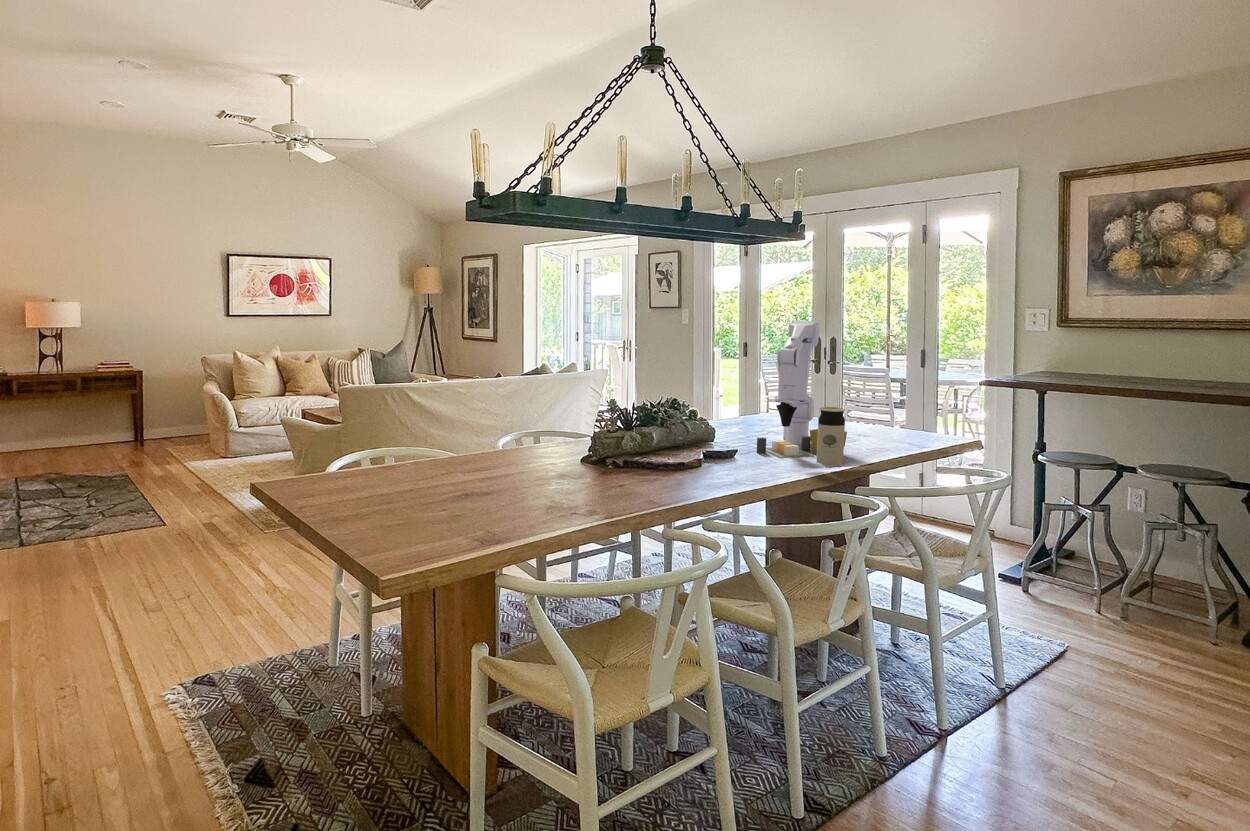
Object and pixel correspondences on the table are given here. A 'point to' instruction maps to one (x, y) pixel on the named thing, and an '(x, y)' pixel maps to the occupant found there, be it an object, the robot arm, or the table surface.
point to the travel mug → (831, 436)
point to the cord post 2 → (805, 443)
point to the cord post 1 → (761, 445)
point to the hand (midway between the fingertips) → (785, 426)
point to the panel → (781, 455)
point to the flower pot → (815, 437)
